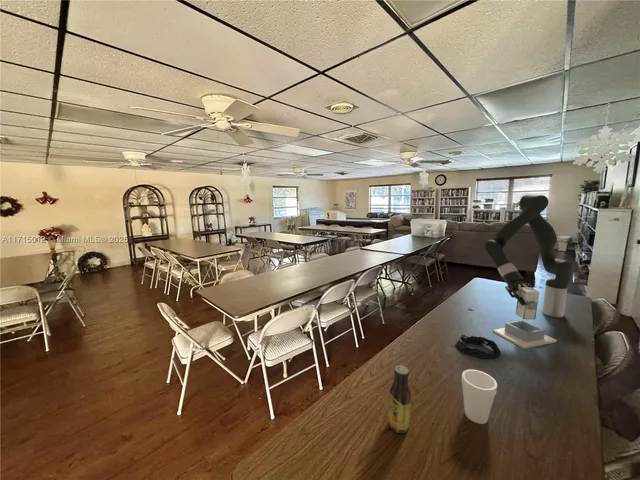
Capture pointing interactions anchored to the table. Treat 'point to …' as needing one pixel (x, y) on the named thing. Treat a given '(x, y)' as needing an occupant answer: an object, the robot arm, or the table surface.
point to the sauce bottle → (400, 401)
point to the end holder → (524, 334)
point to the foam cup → (478, 395)
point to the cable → (479, 341)
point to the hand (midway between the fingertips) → (530, 303)
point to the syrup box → (528, 303)
